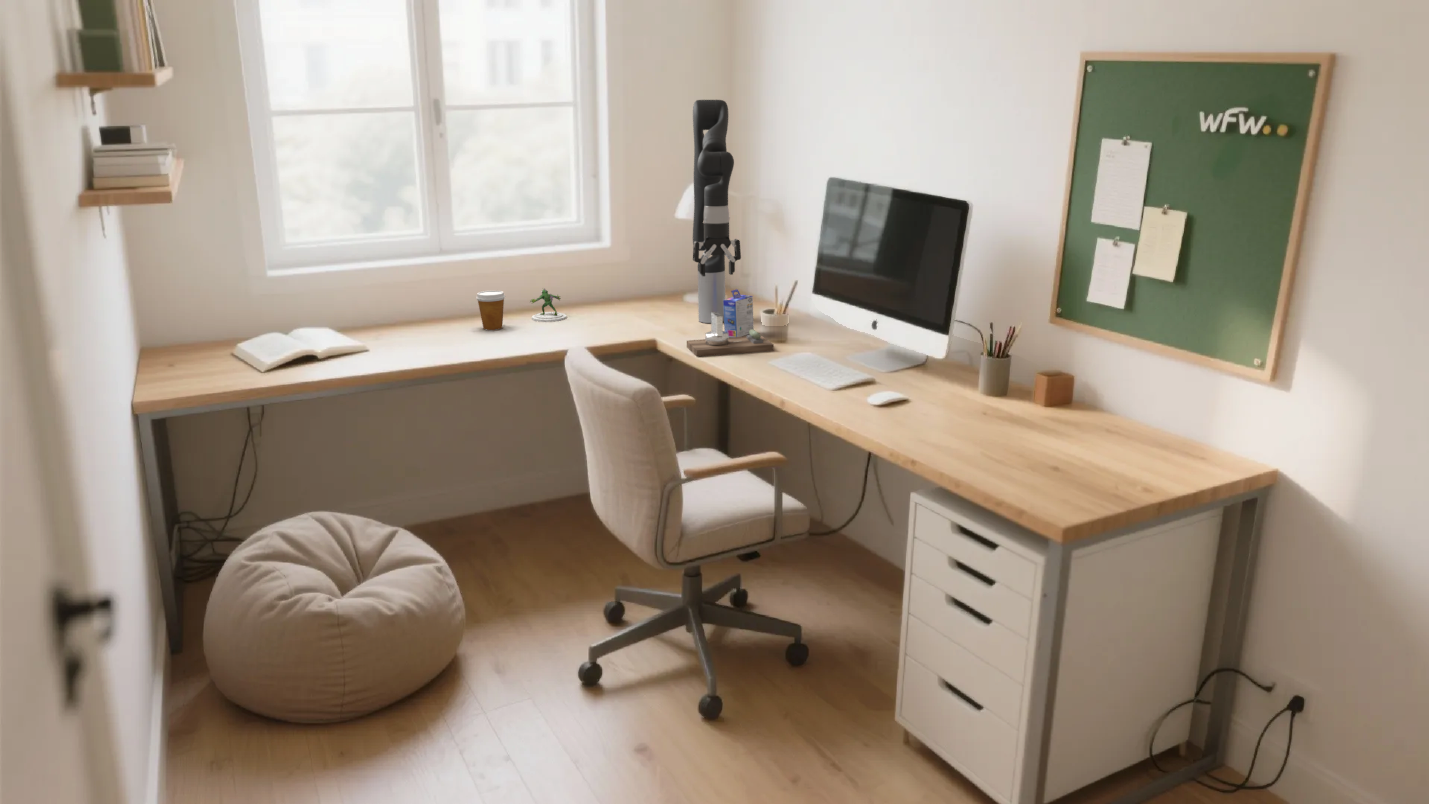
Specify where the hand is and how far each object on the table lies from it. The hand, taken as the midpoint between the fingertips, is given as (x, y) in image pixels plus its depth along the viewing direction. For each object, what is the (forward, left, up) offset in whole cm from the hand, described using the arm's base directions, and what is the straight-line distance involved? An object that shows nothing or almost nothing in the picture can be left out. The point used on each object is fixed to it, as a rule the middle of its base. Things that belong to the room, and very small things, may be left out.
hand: (717, 275), depth 333 cm
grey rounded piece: (0, 0, -21) cm, 21 cm away
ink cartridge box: (-18, +12, -23) cm, 32 cm away
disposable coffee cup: (-53, -64, -23) cm, 87 cm away
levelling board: (0, +4, -23) cm, 23 cm away
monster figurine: (-63, -44, -23) cm, 81 cm away
